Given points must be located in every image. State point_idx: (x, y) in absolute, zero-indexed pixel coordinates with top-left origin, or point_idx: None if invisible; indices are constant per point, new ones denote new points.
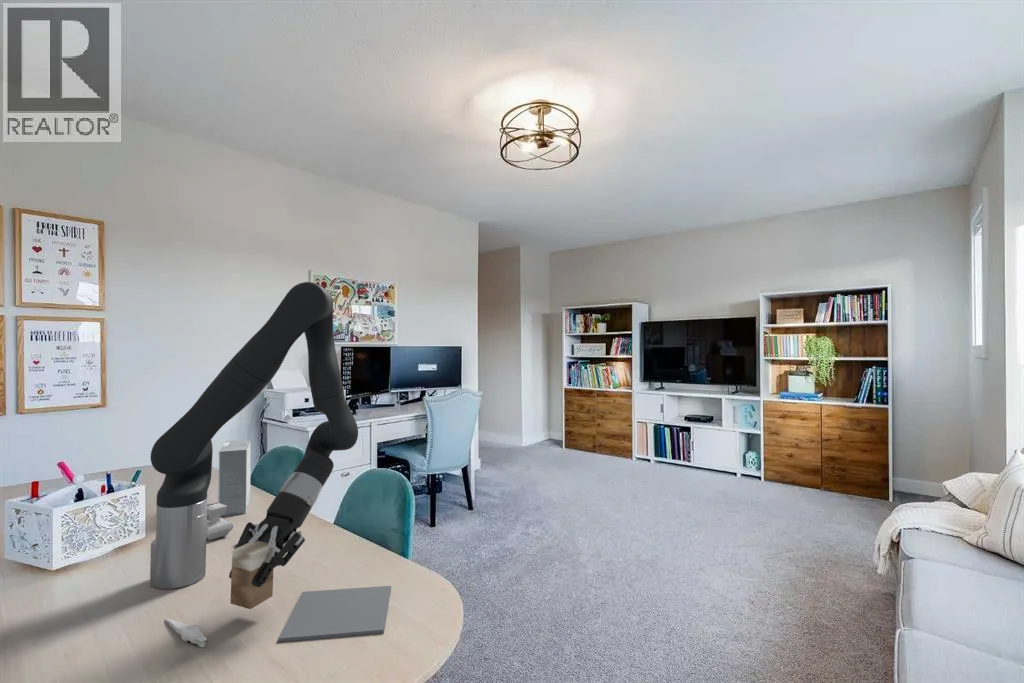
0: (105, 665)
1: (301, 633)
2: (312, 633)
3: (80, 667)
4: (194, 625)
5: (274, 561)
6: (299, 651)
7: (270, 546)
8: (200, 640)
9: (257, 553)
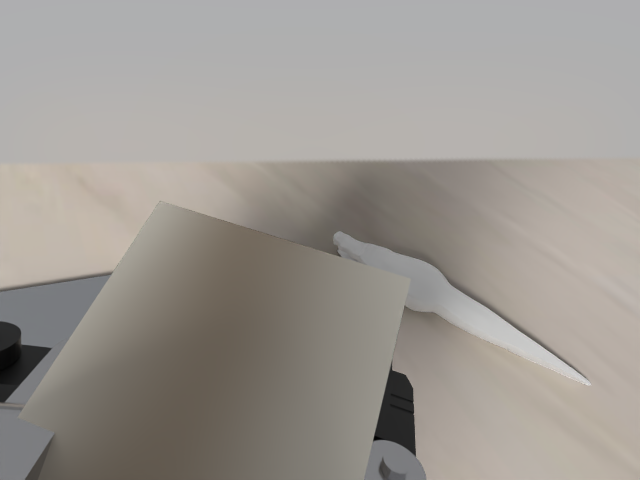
0: (524, 183)
1: (43, 301)
2: (4, 303)
3: (573, 177)
4: (425, 300)
5: (34, 350)
6: (47, 239)
7: (16, 419)
8: (347, 234)
9: (131, 251)
